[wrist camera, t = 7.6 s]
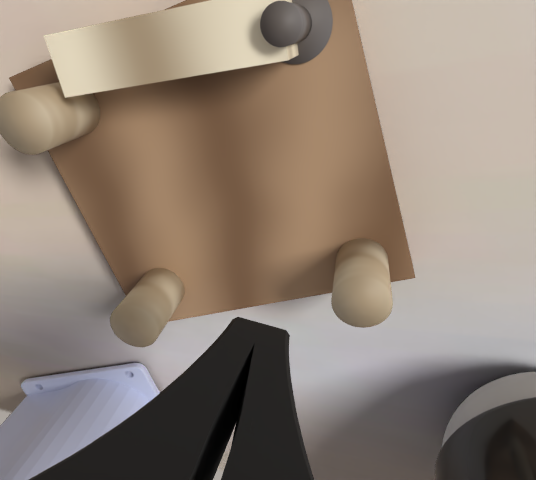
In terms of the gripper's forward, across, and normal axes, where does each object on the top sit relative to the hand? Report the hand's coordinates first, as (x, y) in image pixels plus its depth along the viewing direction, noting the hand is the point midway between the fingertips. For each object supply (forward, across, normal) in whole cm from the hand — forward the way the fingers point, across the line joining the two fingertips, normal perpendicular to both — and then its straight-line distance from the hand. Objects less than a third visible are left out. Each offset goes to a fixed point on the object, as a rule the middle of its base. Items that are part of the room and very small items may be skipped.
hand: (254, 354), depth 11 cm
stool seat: (+10, +4, -1) cm, 11 cm away
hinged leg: (+9, +5, -6) cm, 12 cm away
